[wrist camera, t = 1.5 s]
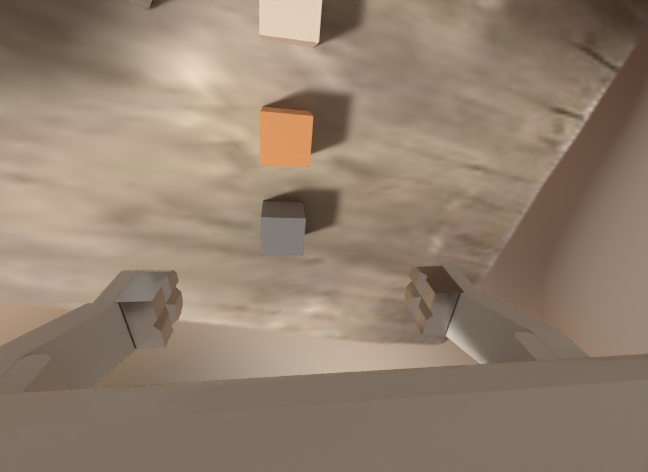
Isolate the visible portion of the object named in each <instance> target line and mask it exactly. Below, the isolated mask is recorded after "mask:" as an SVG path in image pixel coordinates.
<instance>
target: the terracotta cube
mask: <svg viewBox="0 0 648 472" xmlns="http://www.w3.org/2000/svg"><path fill="white" fill-rule="evenodd" d="M312 129H313V115H312V114H311V113H310V112H309V111H306V110H295V109H285V108H274V107H264V106H263V107H262V109H261V111H260V155H261V165H276V166H293V167H309V168H310V155H311V142H312Z"/></svg>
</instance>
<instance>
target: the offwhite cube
mask: <svg viewBox="0 0 648 472" xmlns="http://www.w3.org/2000/svg"><path fill="white" fill-rule="evenodd" d="M321 9H322V0H259V21H260V37H261V39H262V41H267V42H275V43H282V44H289V45H297V46H304V47H312V48H313V47H314V46H316V45H317V44H318V43H319V35H320V22H321Z"/></svg>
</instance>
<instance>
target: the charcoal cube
mask: <svg viewBox="0 0 648 472" xmlns="http://www.w3.org/2000/svg"><path fill="white" fill-rule="evenodd" d="M305 224H306V217H305V211H304V206H303V202H284V201H263V206H262V214H261V255H300V256H303V250H304V237H305Z"/></svg>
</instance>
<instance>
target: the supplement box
mask: <svg viewBox="0 0 648 472" xmlns="http://www.w3.org/2000/svg"><path fill="white" fill-rule="evenodd" d="M129 1H131V2H133V3H135V4H137V5H139V6H141V7H143V8H144V9H146V10H148V9H149V7H150V5H151V2H152V0H129Z"/></svg>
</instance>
